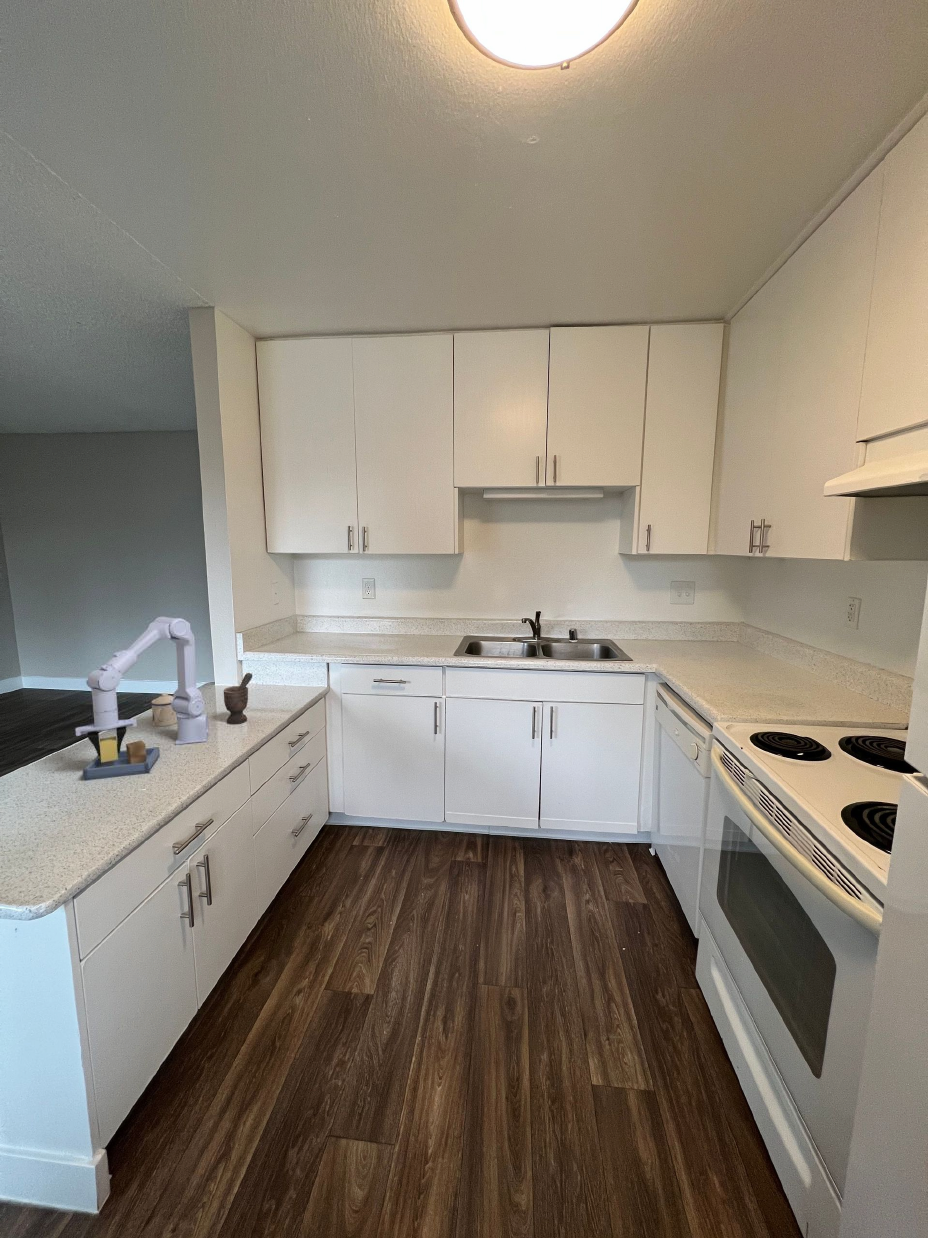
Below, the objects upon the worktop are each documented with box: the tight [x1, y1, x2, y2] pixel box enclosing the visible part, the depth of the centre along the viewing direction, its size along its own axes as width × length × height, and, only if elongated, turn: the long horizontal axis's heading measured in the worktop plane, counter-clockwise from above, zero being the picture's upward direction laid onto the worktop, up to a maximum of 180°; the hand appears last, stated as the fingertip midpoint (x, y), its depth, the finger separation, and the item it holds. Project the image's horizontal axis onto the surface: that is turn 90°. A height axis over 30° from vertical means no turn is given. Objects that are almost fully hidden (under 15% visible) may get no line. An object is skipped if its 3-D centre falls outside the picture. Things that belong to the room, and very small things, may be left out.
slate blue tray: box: [82, 746, 161, 782], centre depth 146 cm, size 16×13×3 cm
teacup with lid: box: [150, 692, 177, 727], centre depth 183 cm, size 12×9×12 cm
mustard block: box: [99, 735, 118, 763], centre depth 145 cm, size 4×4×6 cm
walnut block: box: [125, 740, 147, 764], centre depth 147 cm, size 4×4×6 cm
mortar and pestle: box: [223, 672, 253, 725], centre depth 187 cm, size 12×9×20 cm
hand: (109, 753), depth 145 cm, fingers closed on mustard block, 4 cm apart
